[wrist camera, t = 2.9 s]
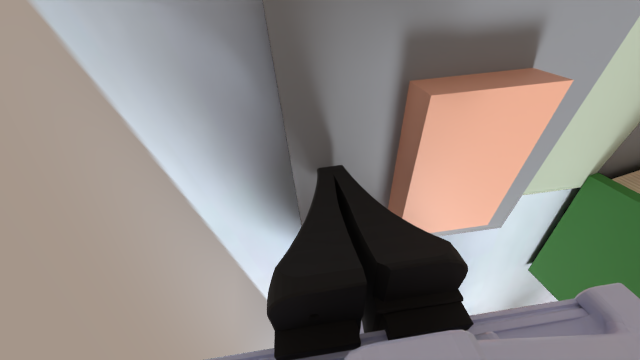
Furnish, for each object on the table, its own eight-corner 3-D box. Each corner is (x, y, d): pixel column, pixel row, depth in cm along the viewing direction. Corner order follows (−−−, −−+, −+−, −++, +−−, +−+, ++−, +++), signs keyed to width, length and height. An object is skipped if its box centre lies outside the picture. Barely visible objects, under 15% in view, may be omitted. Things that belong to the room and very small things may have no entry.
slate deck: (470, 194, 22) (501, 227, 19) (303, 217, 21) (306, 255, 18) (576, -32, 12) (676, -40, 9) (267, -6, 11) (261, -6, 8)
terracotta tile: (468, 203, 17) (487, 224, 15) (386, 214, 16) (397, 237, 15) (532, 67, 11) (573, 79, 9) (409, 80, 11) (431, 95, 9)
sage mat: (579, 183, 23) (584, 186, 23) (473, 197, 23) (477, 201, 22) (782, -61, 12) (798, -63, 12) (591, -46, 12) (601, -47, 11)
